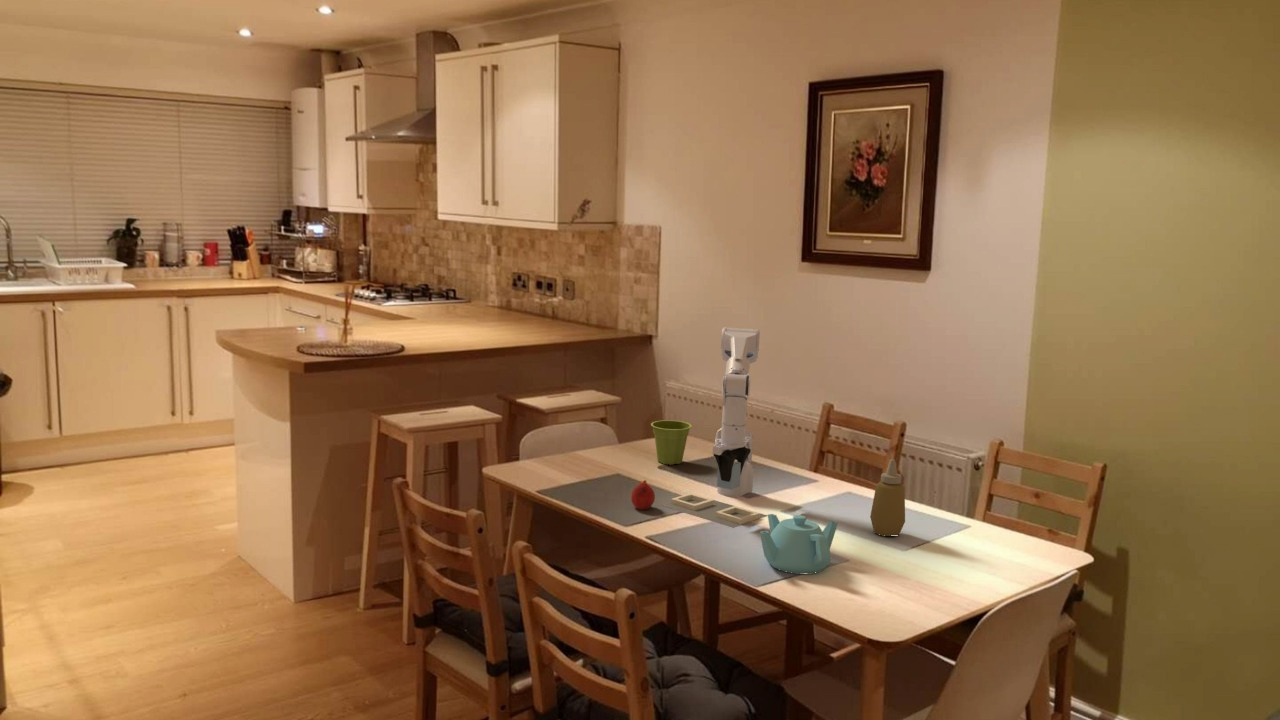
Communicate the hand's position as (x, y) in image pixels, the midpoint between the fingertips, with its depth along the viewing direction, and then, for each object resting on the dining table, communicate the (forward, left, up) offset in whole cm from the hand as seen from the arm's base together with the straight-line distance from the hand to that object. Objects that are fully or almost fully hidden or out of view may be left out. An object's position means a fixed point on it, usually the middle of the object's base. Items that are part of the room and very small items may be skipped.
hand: (730, 478), depth 244 cm
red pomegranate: (+12, -17, -10) cm, 23 cm away
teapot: (+14, +29, -10) cm, 33 cm away
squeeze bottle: (-20, +32, -10) cm, 39 cm away
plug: (0, -1, -2) cm, 2 cm away
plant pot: (-30, -44, -10) cm, 55 cm away
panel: (0, -4, -10) cm, 11 cm away
